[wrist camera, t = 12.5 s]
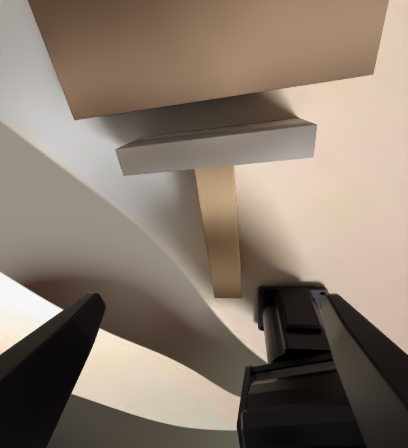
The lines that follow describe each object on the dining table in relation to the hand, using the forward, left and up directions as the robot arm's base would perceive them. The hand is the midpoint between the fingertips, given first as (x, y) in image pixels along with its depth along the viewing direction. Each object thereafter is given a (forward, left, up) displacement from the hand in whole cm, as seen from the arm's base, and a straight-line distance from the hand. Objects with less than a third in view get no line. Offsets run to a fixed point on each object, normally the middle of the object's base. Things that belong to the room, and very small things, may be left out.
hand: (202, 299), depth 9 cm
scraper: (-2, 0, -11) cm, 11 cm away
